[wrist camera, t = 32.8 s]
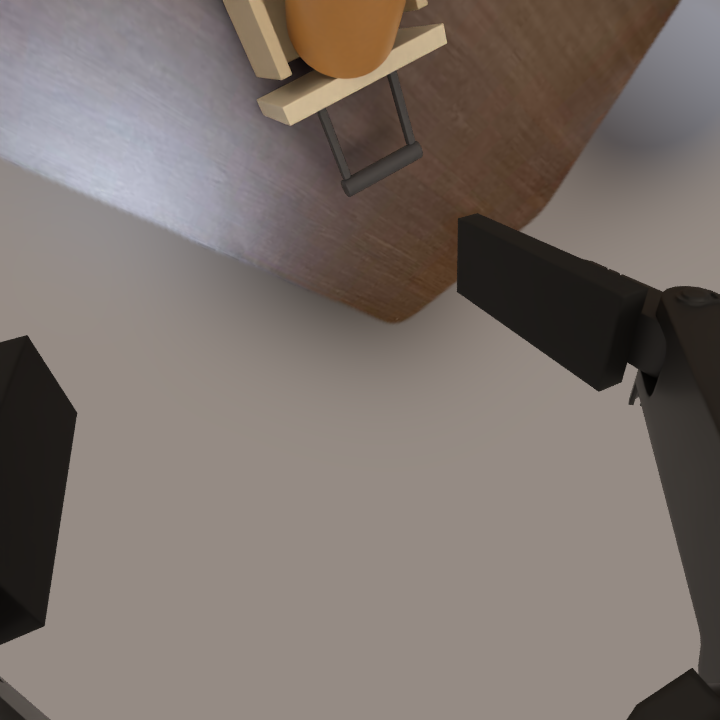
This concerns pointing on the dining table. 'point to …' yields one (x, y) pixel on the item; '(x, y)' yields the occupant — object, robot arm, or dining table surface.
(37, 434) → the robot arm
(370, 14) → the orange dome-capped jar
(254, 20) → the drawer
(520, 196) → the dining table surface
